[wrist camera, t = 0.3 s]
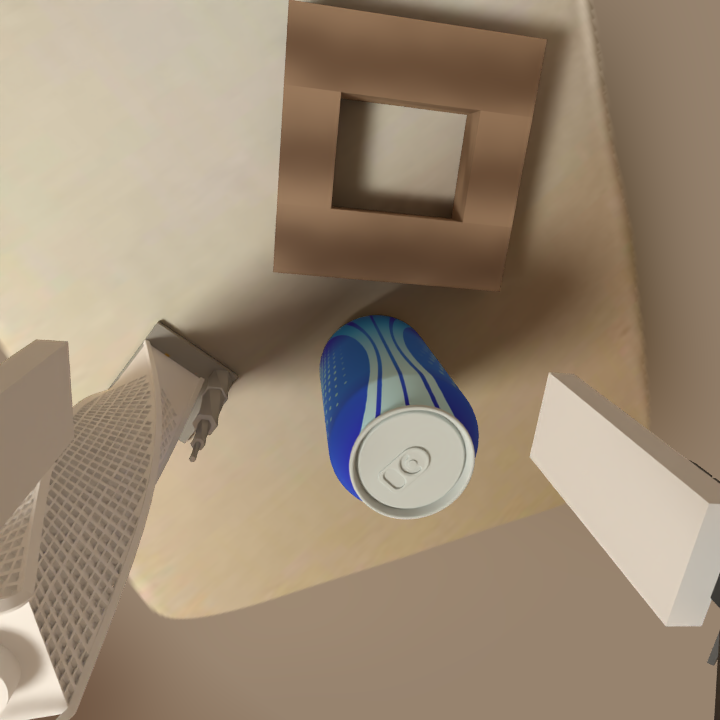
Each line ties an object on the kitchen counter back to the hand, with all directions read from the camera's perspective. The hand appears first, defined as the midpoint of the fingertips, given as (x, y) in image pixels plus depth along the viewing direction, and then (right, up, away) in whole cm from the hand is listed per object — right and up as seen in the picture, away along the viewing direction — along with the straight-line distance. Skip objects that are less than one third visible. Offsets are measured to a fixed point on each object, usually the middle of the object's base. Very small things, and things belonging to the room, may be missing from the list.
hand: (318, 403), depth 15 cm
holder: (+4, +15, +24) cm, 28 cm away
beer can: (+2, +1, +28) cm, 29 cm away
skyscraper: (-14, -1, +27) cm, 31 cm away
